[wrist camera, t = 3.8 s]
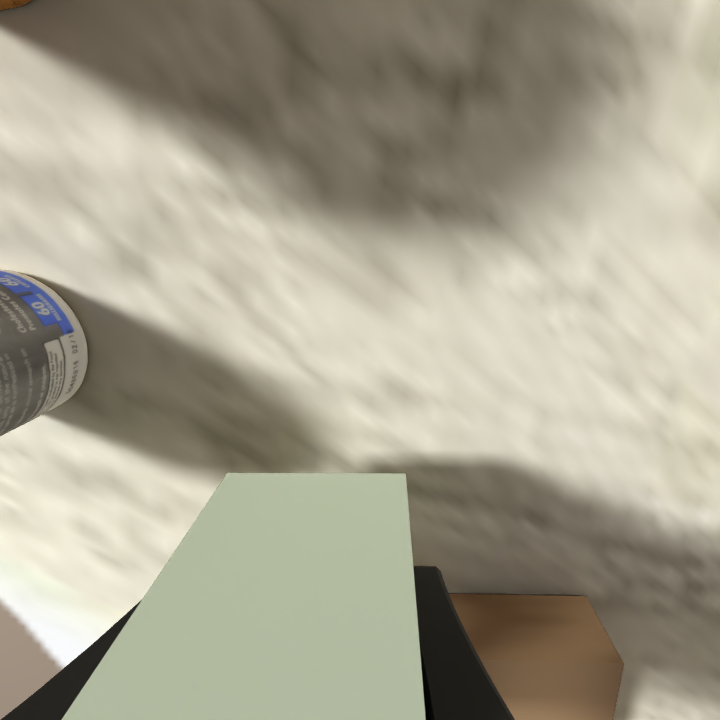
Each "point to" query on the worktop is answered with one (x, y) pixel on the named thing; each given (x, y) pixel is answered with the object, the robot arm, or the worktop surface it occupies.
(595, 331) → the worktop surface
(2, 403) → the pill bottle
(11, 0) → the disposable coffee cup
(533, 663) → the walnut base
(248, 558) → the sage block
